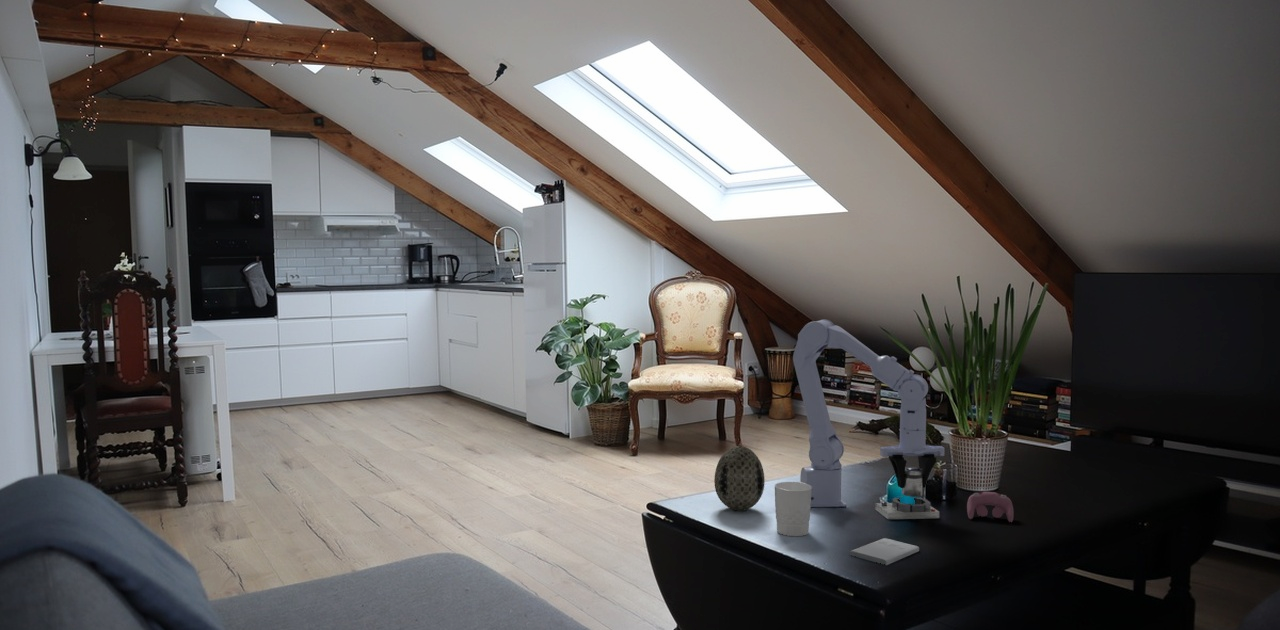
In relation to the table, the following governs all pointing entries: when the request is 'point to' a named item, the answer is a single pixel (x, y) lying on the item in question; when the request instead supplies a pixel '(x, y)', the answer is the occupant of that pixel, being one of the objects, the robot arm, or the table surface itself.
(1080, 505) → the table surface
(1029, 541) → the table surface
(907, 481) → the lens
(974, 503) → the video game controller
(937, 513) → the white display stand
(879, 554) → the external hard drive
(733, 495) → the decorative egg
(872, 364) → the robot arm
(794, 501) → the white cup
